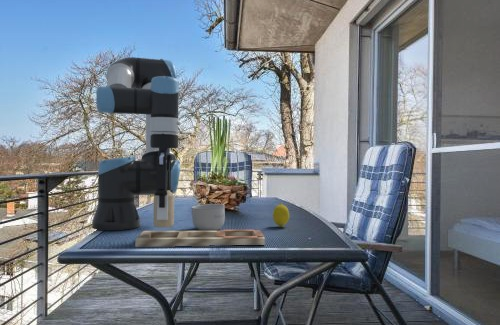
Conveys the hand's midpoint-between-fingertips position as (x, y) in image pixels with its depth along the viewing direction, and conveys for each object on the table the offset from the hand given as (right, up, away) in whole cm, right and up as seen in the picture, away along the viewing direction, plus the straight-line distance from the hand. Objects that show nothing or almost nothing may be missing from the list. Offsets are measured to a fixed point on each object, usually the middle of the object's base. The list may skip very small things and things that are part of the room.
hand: (163, 217), depth 113 cm
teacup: (+11, -7, +21) cm, 25 cm away
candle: (0, -3, 0) cm, 3 cm away
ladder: (+10, -7, +1) cm, 13 cm away
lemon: (+34, -7, +26) cm, 44 cm away
